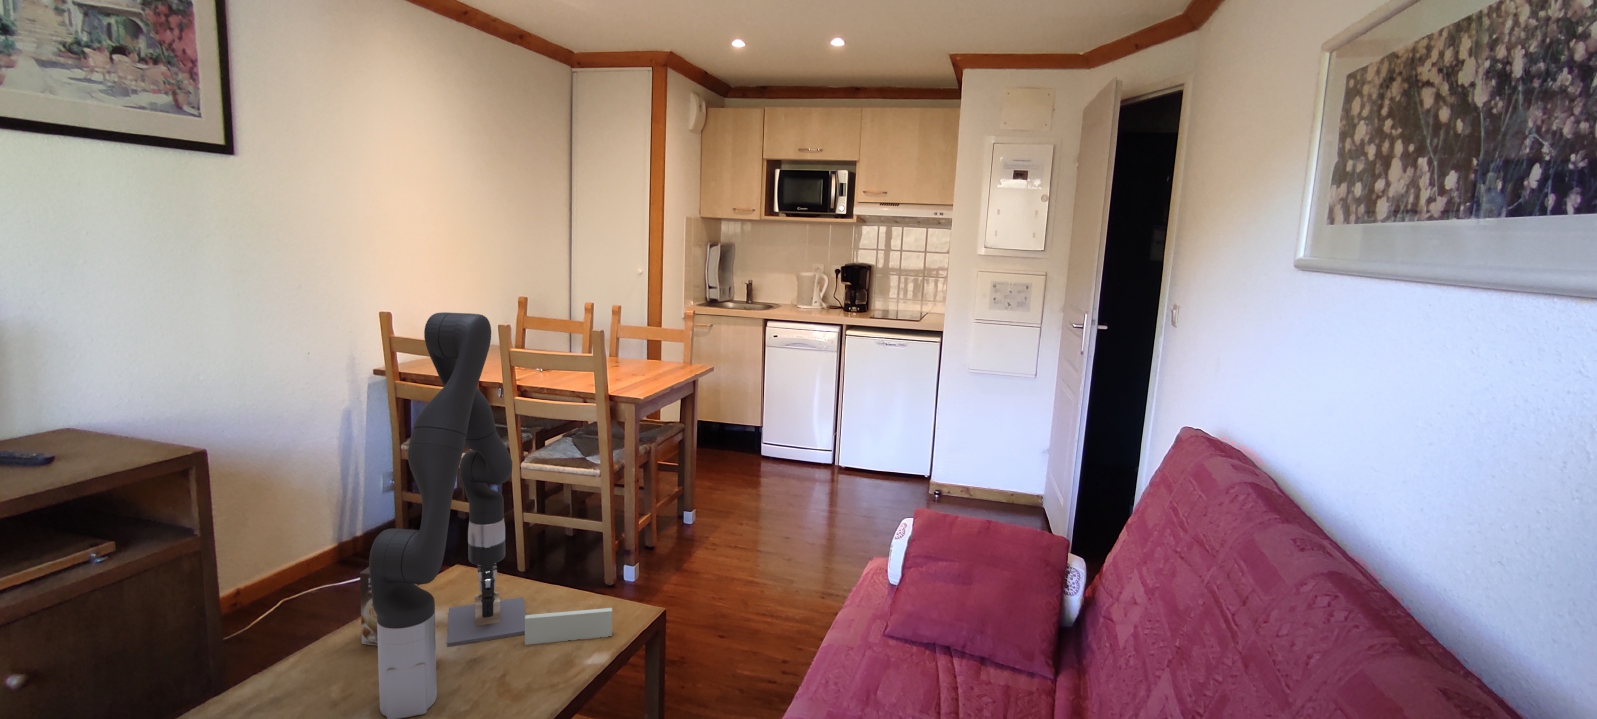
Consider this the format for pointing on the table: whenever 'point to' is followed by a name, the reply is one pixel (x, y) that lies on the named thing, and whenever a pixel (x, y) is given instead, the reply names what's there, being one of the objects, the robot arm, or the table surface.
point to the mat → (467, 632)
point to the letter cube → (478, 610)
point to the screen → (568, 626)
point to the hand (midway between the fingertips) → (487, 609)
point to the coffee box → (367, 611)
